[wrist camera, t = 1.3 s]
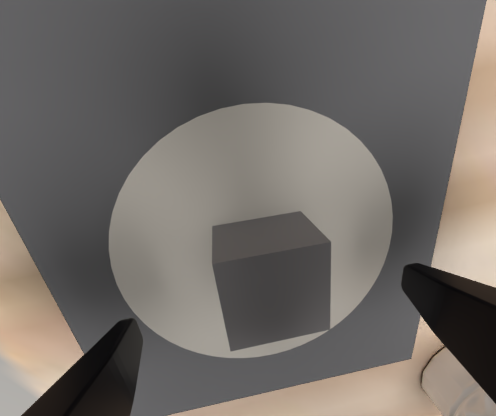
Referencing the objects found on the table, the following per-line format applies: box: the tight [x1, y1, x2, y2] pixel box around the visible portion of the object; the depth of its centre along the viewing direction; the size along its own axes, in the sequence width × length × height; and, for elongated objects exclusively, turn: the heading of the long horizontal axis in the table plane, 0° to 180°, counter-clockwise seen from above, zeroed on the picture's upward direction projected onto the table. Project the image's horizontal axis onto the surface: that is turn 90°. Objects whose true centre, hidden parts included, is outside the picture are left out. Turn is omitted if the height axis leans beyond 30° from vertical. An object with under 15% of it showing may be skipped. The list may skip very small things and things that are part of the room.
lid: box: [109, 103, 393, 358], centre depth 9 cm, size 12×12×3 cm
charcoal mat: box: [0, 0, 486, 416], centre depth 11 cm, size 20×18×1 cm
